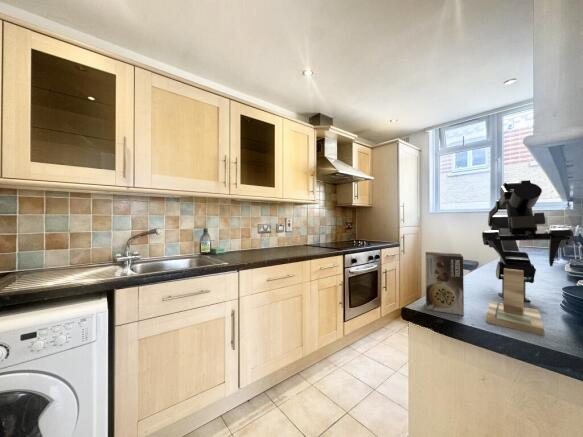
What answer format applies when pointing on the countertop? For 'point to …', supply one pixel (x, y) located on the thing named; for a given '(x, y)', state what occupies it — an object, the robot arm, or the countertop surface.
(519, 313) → the wooden block
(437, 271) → the food box
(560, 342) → the countertop surface
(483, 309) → the countertop surface
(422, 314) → the countertop surface
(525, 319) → the maple board
